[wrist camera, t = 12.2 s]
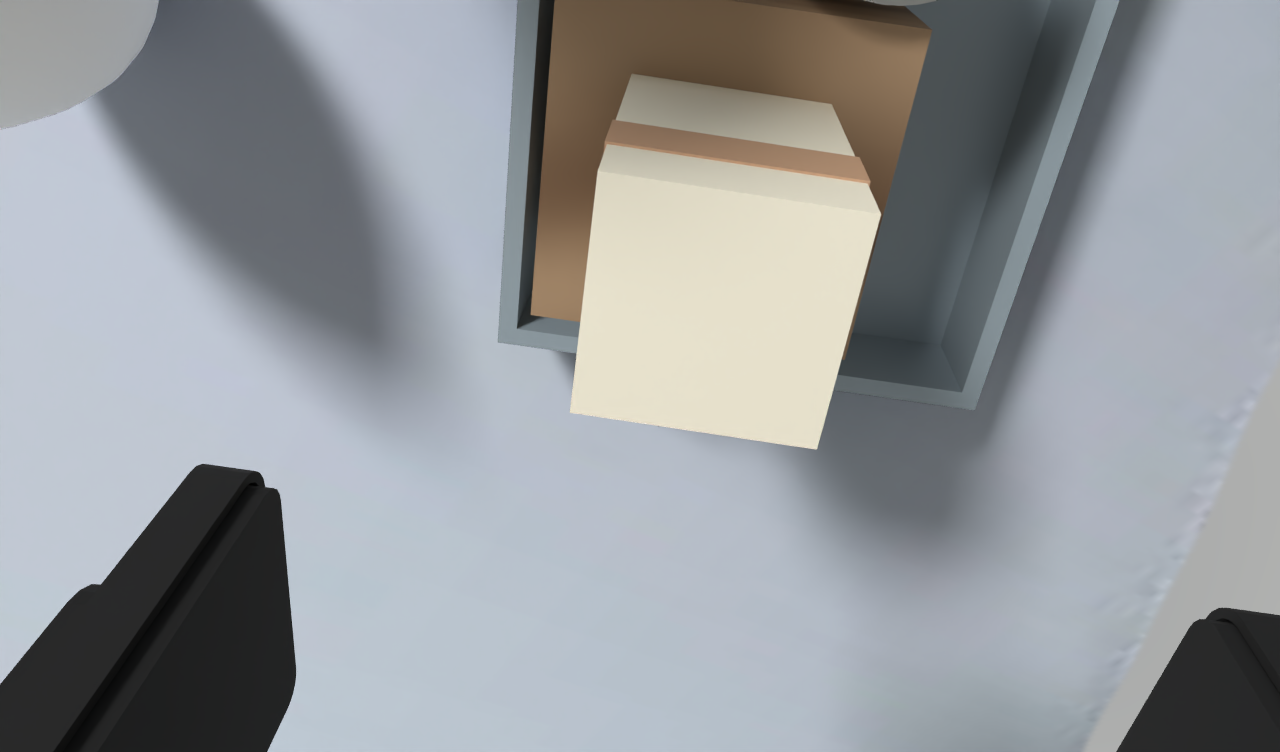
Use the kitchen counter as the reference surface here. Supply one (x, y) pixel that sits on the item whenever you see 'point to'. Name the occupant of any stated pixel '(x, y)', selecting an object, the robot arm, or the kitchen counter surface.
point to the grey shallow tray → (896, 191)
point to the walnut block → (717, 56)
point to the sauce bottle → (65, 52)
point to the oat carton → (722, 263)
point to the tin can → (900, 2)
